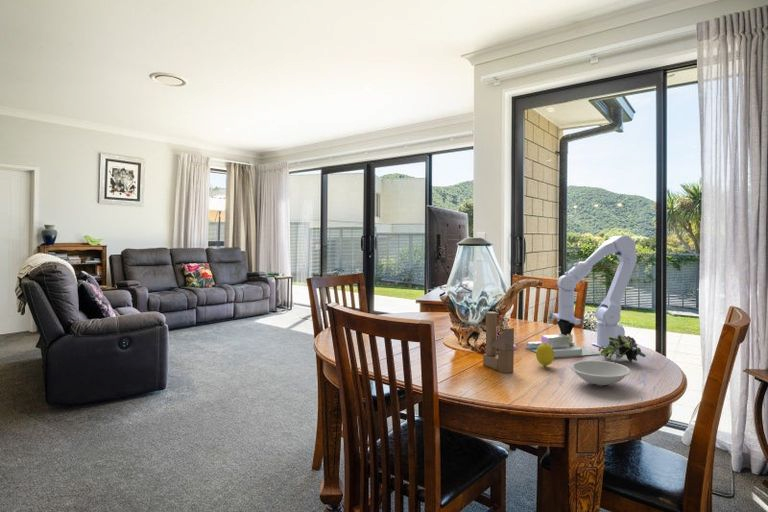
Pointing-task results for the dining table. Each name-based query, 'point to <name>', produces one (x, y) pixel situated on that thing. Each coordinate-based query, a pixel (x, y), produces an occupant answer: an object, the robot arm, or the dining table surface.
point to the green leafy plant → (622, 348)
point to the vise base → (584, 352)
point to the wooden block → (498, 346)
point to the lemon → (545, 354)
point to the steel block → (556, 341)
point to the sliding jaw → (535, 344)
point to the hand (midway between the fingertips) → (565, 339)
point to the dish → (600, 371)
